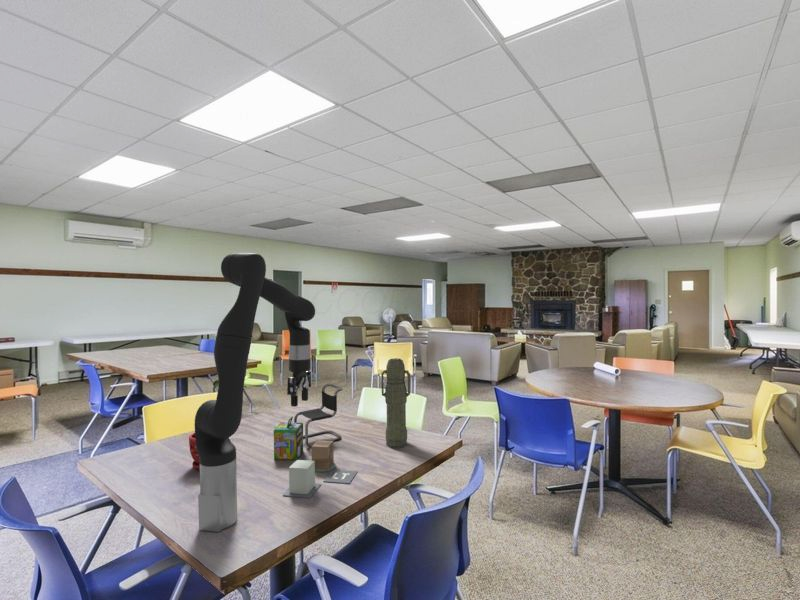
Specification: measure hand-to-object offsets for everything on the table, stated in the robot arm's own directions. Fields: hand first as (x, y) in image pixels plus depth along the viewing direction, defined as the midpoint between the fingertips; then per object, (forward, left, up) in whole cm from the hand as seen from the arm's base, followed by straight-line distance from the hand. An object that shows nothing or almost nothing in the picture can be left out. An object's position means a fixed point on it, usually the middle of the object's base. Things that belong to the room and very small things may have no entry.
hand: (299, 403), depth 147 cm
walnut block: (+4, -7, -23) cm, 25 cm away
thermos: (+30, -29, -24) cm, 48 cm away
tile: (-3, -16, -24) cm, 29 cm away
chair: (+30, +5, -24) cm, 38 cm away
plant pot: (-1, +35, -24) cm, 42 cm away
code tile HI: (-14, -7, -24) cm, 28 cm away
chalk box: (+12, +10, -24) cm, 28 cm away
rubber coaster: (+4, -7, -24) cm, 25 cm away
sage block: (-14, -7, -23) cm, 28 cm away
